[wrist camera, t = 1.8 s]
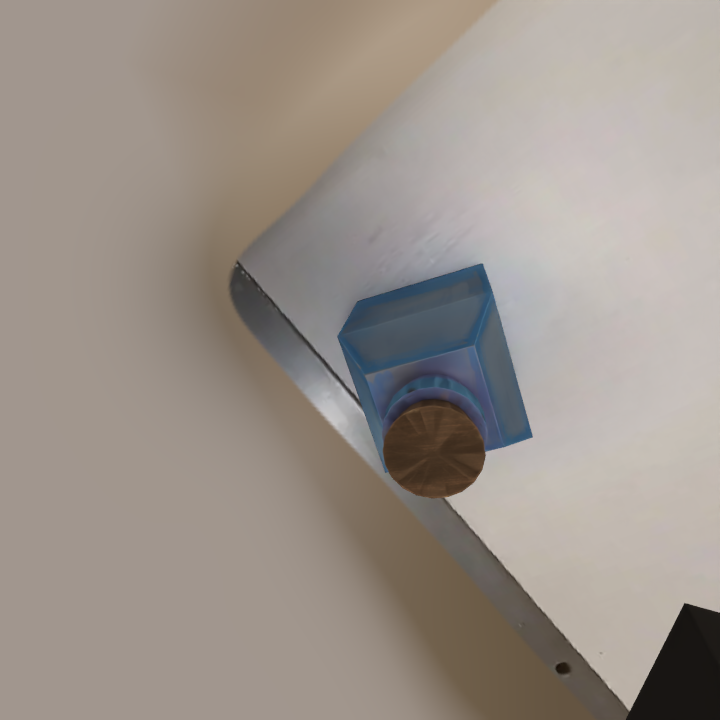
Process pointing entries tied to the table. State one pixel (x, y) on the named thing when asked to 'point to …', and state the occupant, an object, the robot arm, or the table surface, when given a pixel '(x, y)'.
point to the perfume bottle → (435, 380)
